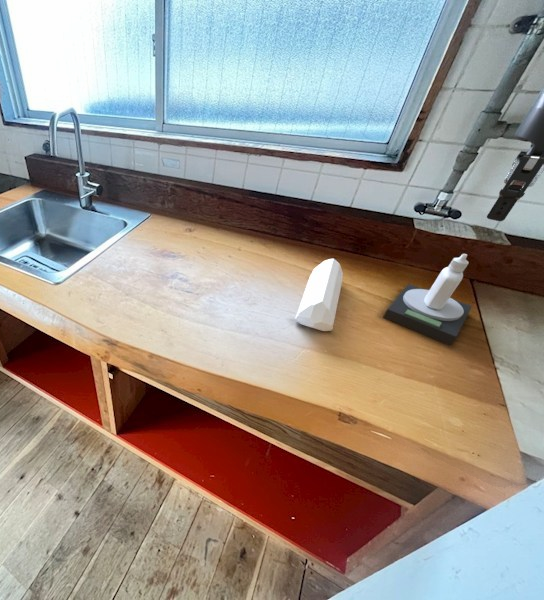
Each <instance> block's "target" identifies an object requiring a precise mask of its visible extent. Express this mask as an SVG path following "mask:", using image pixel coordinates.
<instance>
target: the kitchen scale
mask: <svg viewBox="0 0 544 600" xmlns="http://www.w3.org/2000/svg"><path fill="white" fill-rule="evenodd" d="M429 290H430V289H425V288H423V287H419V286H416V285H413V284H410V283H407V285H406V286H405V287H404V288H403V289H402V291H401V292H400V293H399V294H398V295H397V296H396V298H395V299H394V300H393V302H392V303H391V304H390V305H389V307H388V308H387V309H386V311H385V313H384V314H383V316H382V318H383V319H386V320H388V321H391V322H394V323H396V324H398V325H400V326H402V327H405V328H408V329H410V330H412V331H414V332H417V333H420V334H422V335H424V336H427V337H429V338H432V339H434V340H436V341H438V342H441V343H443V344H446V345H448V346H451V345H452V343H453V342H454V341H455V340H456V338H457V337H458V335H459V332H460V331H461V330H462V328H463V325H464V323H465V322H466V319H467V317H468V315H469V313H470V312H471V310H472V308H473V305H471V304H467V303H465V302H462V301H459V300H456V299H453V298H452V297H450V298H449V299H448V301H447V302H446V304H445V305H444V307H443V308H442V309H440V310H436V309H433V308H430V307H427V306H426V304H425V302H424V299H425V297H426V295H427V293H428V292H429Z"/></svg>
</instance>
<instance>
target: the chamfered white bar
mask: <svg viewBox="0 0 544 600" xmlns="http://www.w3.org/2000/svg"><path fill="white" fill-rule="evenodd" d="M343 273H344V272H343V269H342V267H341V263H339V262H338V261H337V260H336V259H335V258H334V257H333V258H329V259H325V260H323V261H322V262H321V263H319V264H318V265H317V266H315V267H314V268H313V270H312V272H311V273H310V275H309V278H308V280H307V283H306V286H305V289H304V292H303V295H302V298H301V301H300V303H299V307H298V308H297V309H298V310H297V312H296V316H295V318H294V320H295V321H296V322H298V324H299V325H302V326H304V327H307V328H311V329H314V330H318V331H322V332H329V331H333V329H334V323H335V319H336V314H337V309H338V305H339V299H340V294H341V289H342V286H343V285H342V284H343V279H344V278H343V277H344V274H343Z"/></svg>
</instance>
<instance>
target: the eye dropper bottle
mask: <svg viewBox="0 0 544 600" xmlns="http://www.w3.org/2000/svg"><path fill="white" fill-rule="evenodd" d="M467 257H468V254H467V253H462V254H461V255H460V256H459V257H453V258H452V260H451V261H450V262H449V264H448V266H446V267H444V268H443V269H442V270H441V271H440V272H439V274H438V275H437V278H435V280H434V282H433V283H432V285H431V287H430V288H429V289H428V290H429V292H428V293H427V295H426V297H425V299H424V302H425V304H426V306H427V307H430V308H433V309H436V310H440V309H442V308H443V307H444V305H445V304H446V302H447V301H448V299H449V298H451V297H452V295H453V293H454V292H455V291H456V289H457V288H458V286H459V285H460V283H461V282H462V280H463V278H464V271H465V269H467V267H468V265H469V261H468V260H467Z"/></svg>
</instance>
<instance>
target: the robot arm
mask: <svg viewBox="0 0 544 600" xmlns="http://www.w3.org/2000/svg"><path fill="white" fill-rule="evenodd" d="M528 109H529V110H528V111H527V112H526V114H525V116H524V117H523V119H522V121H521V122H520V124H519V126H518V127H517V129H516V132H515V133H514V138H515V139H516V140H518V141H520V142H526V143H527V142H528V143H531V145H530V147H529V148H528V150H527V151H526V150H520V152H519V153H518V154H517V156H516V157H515V159H514V161H513V162H512V164H511V166H512V167H511V168H510V171H509V172H508V173H507V175H506V176H505V178H504V180H503V183H504V186H503V188H501V189H500V190H499V193H498V198H497V199H496V201H495V202H494V204H493V205H492V207H491V209H490V210H489V212H488V213H487V215H486V218H487V219H488V220H492V221H496V222H503V221H504V220H505V219H506V218H507V217H508V215H509V214H510V212H511V211H512V209H513V208H514V206H515V205H516V203H517V202H518V201H519V200H520V199H522V198H523V197H524V196H525V195H526V191H527V189H528V188H531V187H533V186H534V185H535V184H536V183H537V181H538V179H539V178H540V176H541V175H542V173H543V172H544V85H543V86H542V87H541V89H540V91H539V93H538V94H537V96H536V97H535V99H534V101H533V102H532V104H531V106H530V108H528Z"/></svg>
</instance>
